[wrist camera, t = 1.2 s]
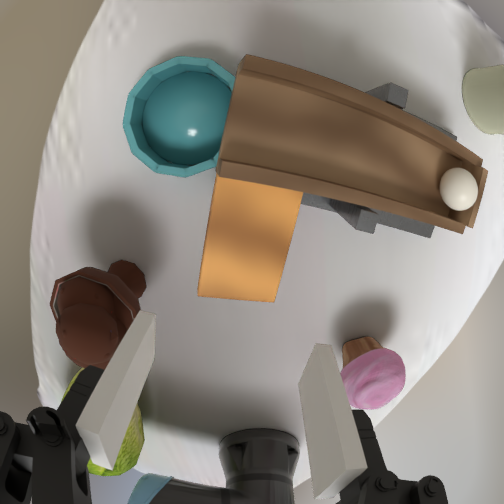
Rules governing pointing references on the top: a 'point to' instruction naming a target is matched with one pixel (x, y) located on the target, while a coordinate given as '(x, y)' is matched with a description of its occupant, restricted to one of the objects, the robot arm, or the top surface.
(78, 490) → the robot arm
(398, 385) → the cupcake
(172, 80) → the teal bowl
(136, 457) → the lettuce
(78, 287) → the ice cream bowl
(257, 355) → the top surface
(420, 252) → the top surface
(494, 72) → the can
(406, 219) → the chute stand
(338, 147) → the chute
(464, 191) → the ball
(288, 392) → the top surface
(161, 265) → the top surface
